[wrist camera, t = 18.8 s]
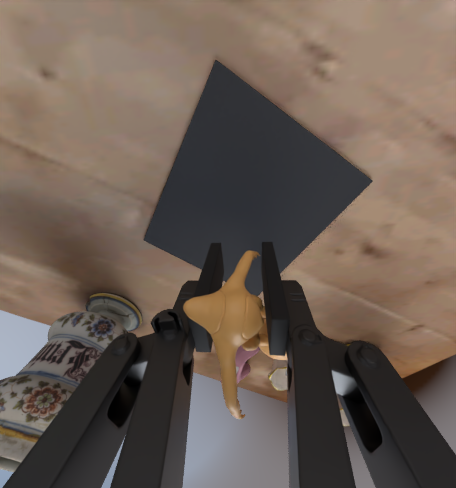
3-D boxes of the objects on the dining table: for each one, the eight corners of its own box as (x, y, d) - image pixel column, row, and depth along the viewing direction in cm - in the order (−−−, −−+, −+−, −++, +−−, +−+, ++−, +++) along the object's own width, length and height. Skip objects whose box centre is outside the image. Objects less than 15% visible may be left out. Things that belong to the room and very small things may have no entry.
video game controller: (241, 327, 35) (220, 359, 30) (263, 341, 33) (246, 378, 28) (232, 355, 40) (213, 386, 35) (251, 368, 38) (234, 404, 33)
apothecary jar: (87, 275, 29) (-89, 435, 14) (158, 308, 32) (75, 473, 16) (75, 315, 35) (-59, 459, 20) (136, 340, 38) (59, 485, 22)
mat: (144, 239, 25) (143, 240, 25) (216, 60, 15) (215, 59, 15) (256, 295, 28) (256, 297, 28) (371, 180, 19) (373, 181, 19)
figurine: (273, 285, 19) (168, 234, 12) (339, 282, 15) (241, 201, 8) (267, 384, 15) (113, 400, 8) (351, 416, 11) (192, 505, 4)
